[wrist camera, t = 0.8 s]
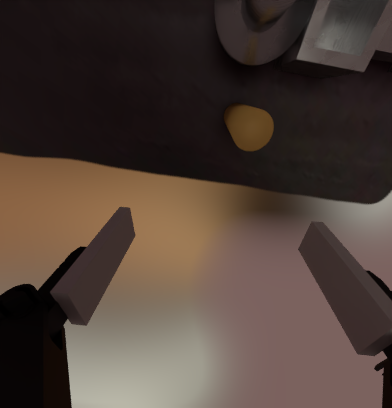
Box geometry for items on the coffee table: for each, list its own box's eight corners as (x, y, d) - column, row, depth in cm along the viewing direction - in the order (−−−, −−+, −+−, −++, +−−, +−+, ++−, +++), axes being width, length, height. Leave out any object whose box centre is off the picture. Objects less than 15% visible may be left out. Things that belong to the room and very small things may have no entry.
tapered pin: (222, 105, 27) (230, 113, 15) (246, 100, 27) (274, 104, 15) (224, 130, 29) (234, 154, 17) (247, 125, 28) (272, 147, 16)
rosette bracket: (441, 11, 20) (760, -106, 9) (385, 100, 25) (540, 103, 13) (222, -33, 20) (239, -223, 8) (207, 66, 25) (203, 38, 13)
